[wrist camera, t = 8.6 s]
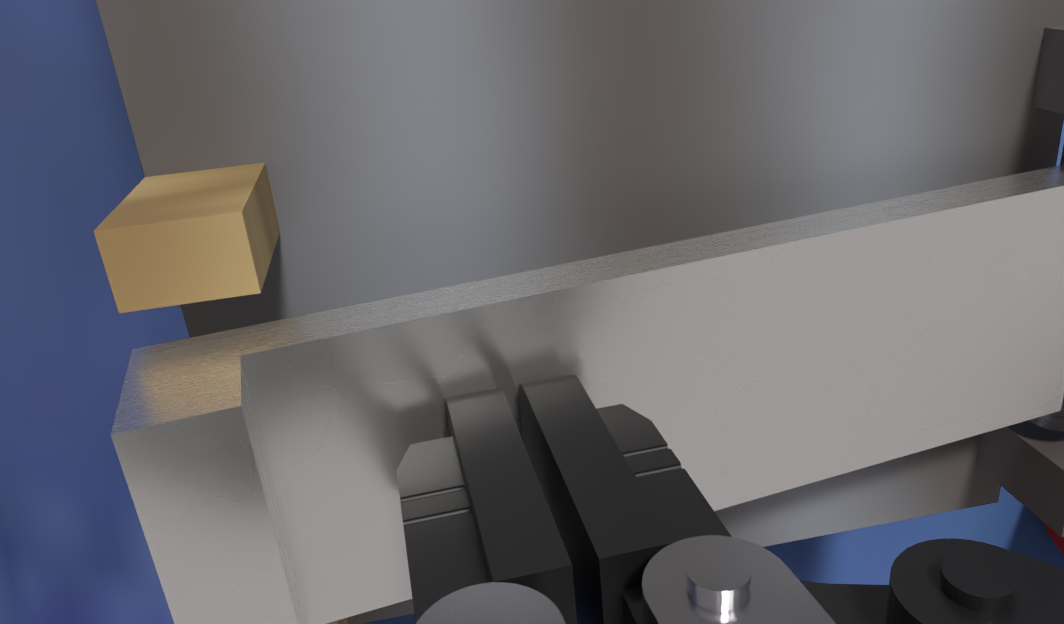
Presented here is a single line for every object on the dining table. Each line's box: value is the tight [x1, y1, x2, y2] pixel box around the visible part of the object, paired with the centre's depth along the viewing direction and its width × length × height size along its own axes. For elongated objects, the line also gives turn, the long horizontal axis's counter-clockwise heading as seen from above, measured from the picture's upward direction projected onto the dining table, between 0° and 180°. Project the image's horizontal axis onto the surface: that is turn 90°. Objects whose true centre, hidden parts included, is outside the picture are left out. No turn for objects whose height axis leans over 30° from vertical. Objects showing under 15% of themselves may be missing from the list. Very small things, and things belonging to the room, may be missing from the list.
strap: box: [111, 146, 1064, 624], centre depth 12 cm, size 15×5×2 cm, turn 96°
